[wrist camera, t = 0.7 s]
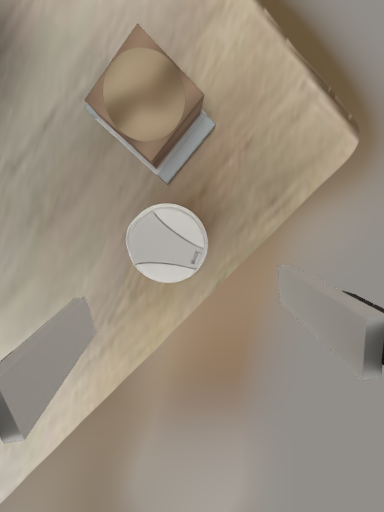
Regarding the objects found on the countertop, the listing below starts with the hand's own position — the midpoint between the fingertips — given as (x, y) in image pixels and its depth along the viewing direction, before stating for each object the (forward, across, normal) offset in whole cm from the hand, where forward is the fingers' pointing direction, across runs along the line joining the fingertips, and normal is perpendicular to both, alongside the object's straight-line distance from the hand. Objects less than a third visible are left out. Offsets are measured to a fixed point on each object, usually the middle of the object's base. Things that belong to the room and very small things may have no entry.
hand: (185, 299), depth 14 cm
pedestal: (+20, -1, +19) cm, 28 cm away
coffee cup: (+22, -1, +2) cm, 22 cm away
